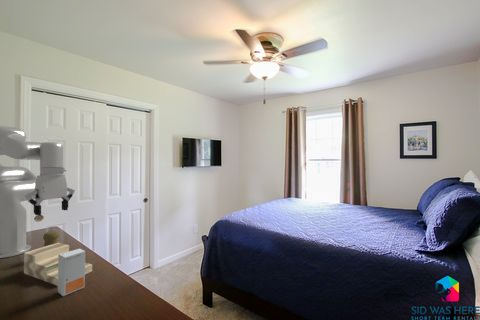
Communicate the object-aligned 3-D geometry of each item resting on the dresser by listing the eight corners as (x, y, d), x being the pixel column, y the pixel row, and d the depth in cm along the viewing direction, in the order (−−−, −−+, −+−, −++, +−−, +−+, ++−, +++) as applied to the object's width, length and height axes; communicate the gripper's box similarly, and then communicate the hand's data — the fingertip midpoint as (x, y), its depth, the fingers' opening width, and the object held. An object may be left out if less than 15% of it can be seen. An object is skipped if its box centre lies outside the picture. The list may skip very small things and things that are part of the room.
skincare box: (63, 297, 68) (63, 257, 68) (57, 292, 70) (57, 254, 70) (85, 287, 73) (85, 250, 73) (79, 283, 75) (79, 247, 75)
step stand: (24, 273, 82) (24, 252, 82) (58, 260, 92) (58, 242, 92) (58, 286, 73) (58, 263, 73) (92, 271, 84) (92, 251, 84)
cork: (49, 261, 91) (49, 234, 91) (37, 260, 92) (37, 233, 92) (64, 255, 97) (64, 230, 97) (52, 254, 98) (52, 229, 98)
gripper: (68, 170, 104) (68, 207, 104) (20, 172, 88) (20, 216, 88) (79, 171, 101) (79, 209, 101) (31, 173, 85) (31, 218, 85)
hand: (51, 212), depth 94 cm, fingers open, 9 cm apart
